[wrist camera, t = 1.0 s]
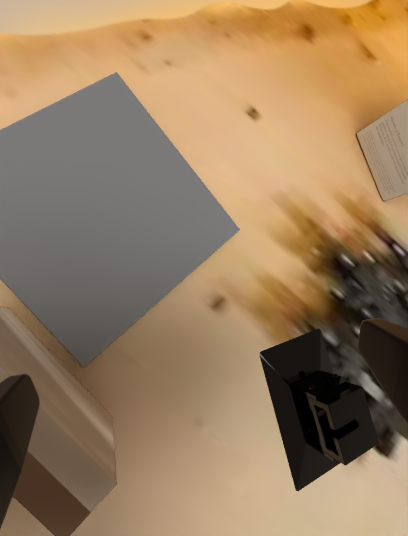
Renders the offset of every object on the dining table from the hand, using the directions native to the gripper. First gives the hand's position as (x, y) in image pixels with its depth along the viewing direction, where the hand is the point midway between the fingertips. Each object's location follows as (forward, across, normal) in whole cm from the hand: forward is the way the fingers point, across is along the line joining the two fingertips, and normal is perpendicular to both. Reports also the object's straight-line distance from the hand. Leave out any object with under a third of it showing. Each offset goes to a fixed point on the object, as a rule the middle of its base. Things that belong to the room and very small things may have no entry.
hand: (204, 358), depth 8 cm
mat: (+13, +5, -2) cm, 14 cm away
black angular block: (+10, -8, +14) cm, 19 cm away
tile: (+8, +9, +6) cm, 13 cm away
